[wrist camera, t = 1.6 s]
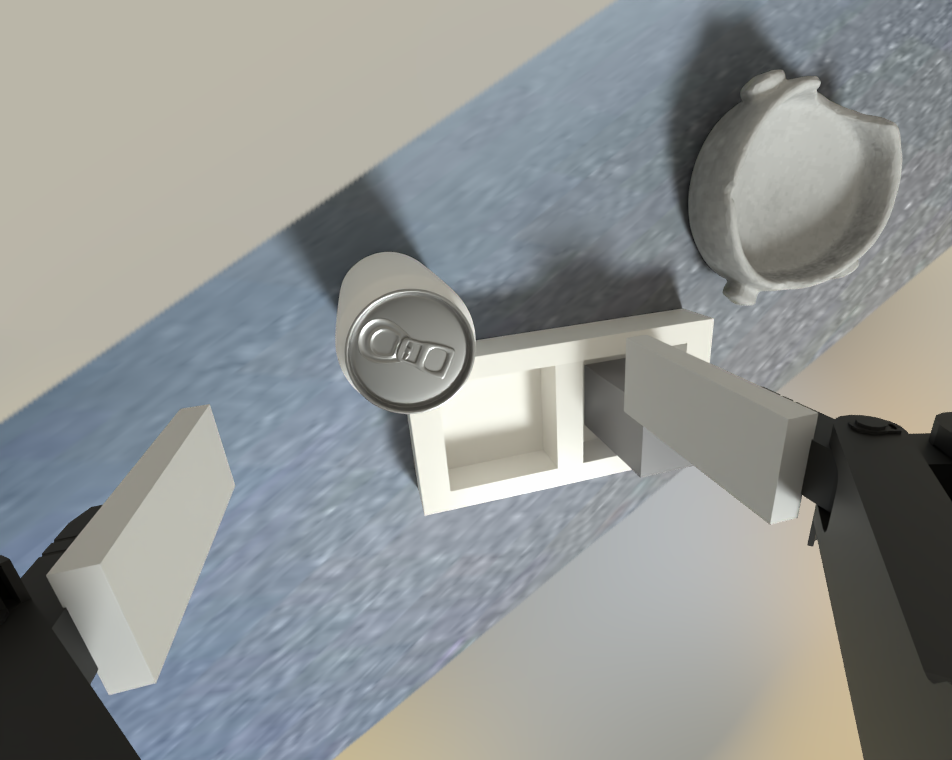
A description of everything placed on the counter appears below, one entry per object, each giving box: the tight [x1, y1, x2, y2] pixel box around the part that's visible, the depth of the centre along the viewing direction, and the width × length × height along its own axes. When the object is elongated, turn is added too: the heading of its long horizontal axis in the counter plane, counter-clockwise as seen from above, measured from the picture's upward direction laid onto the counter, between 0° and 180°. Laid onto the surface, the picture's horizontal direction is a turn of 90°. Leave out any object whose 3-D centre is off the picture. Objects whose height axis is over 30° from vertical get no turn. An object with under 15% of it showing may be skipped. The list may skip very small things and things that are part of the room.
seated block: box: [584, 358, 694, 478], centre depth 32 cm, size 5×5×11 cm
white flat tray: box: [407, 309, 714, 516], centre depth 35 cm, size 22×11×4 cm, turn 95°
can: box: [335, 252, 475, 414], centre depth 26 cm, size 6×6×12 cm
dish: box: [688, 70, 902, 305], centre depth 34 cm, size 14×14×5 cm
